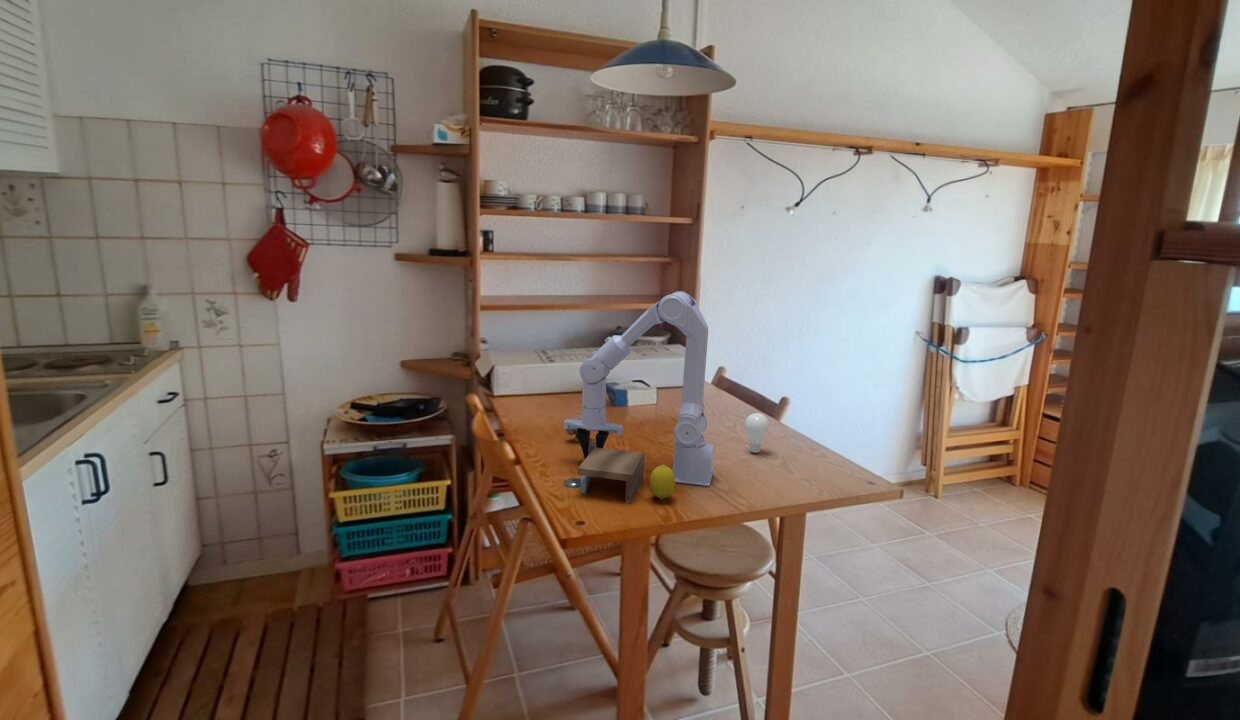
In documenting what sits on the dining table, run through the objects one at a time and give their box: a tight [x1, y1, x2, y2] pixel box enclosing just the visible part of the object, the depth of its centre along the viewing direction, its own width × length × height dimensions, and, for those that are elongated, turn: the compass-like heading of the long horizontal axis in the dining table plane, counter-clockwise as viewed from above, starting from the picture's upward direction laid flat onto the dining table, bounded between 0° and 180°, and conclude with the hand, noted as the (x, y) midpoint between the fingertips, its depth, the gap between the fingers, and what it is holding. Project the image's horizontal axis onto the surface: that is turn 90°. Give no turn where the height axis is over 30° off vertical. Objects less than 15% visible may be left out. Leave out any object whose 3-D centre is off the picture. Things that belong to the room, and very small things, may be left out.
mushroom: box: [564, 413, 592, 442], centre depth 174 cm, size 8×6×8 cm
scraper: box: [579, 441, 596, 494], centre depth 151 cm, size 2×20×5 cm, turn 176°
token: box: [563, 477, 581, 489], centre depth 146 cm, size 4×4×1 cm
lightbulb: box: [744, 412, 770, 454], centre depth 170 cm, size 6×6×11 cm
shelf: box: [577, 447, 645, 504], centre depth 144 cm, size 12×14×6 cm
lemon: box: [649, 464, 676, 501], centre depth 139 cm, size 6×6×8 cm
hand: (592, 458), depth 159 cm, fingers closed on scraper, 2 cm apart
